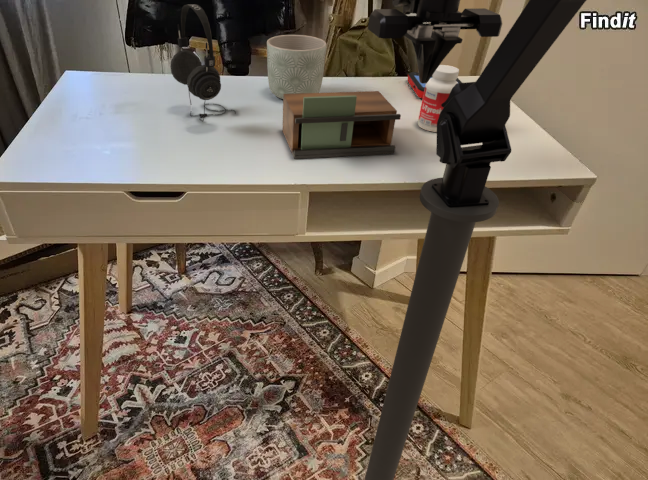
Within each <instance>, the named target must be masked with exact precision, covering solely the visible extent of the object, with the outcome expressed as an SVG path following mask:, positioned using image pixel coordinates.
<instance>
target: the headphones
mask: <svg viewBox="0 0 648 480" xmlns="http://www.w3.org/2000/svg"><path fill="white" fill-rule="evenodd" d="M190 9H191V10H193V12H194V13H195V14H196V15H197V17H198V19H199V20H200V23H201V25H202V27H203V30H204V34H205V37H206V42H205V56H204V58H203V59H204V63H202V61H201V59H200V57H199V56H198V55H197V54H196V53H195V52H193V51H191V50H188V49H183V48H188V47H189V39H188V37H186V20H187V15H188V12H189V10H190ZM177 31H178V38H177V43H178V48H180V51H178V52H176V53H175V54H174V55H173V56H172V58H171V60H170V73H171V75H172V77H173V78H174V80H176V82H178V83H179V84H182V85H184V86H185V85H187V89H188V97H189V98H191V95H190V94H192V95H193V96H194V97H196V98H199V99H200V100H201V101H204V103H203V113H199V114H195V115H192V112H190V113H189V116H190V117H198V116H199V121H201V122H203V121H204V120H205V117H208V116H212V114H207V113H205V112H206V110H209V111H211V112H212V111H213V112H217V109H215V110H214V109H210V108H207V107H206V105H208V103H206V101H209V100H213V99H214V98H216V97H217V96H218V95H219V94H220V92H221V89H222V83H221V76H220V73H219V71H218V69H216V67H215V66H216V56H215V55H214V45H213V44H214V43H213V38H212V37H213V36H212V30H211V26H210V21H209V19H208V15H207V13H206V12H205V10H204V9H203V7H201V6H200V5H199V4H196V3H194V4H193V3H192V4H191V3H190V4H184V5H183V6H182V8H181V11H180V24H179V23H177ZM189 103H190V104H192V99H189ZM215 105H216V106H221V107H222V108H223V109H222V110H221V112H223V113H219V114H216V116H220V115H224V114H225V113H226V112H227V109H226V108H225V107H224V106H223V105H221V104H217V103H214V106H215ZM232 111H233V112H234V115H236V114H237V112H236V111H235V109H232ZM201 118H202V119H201Z"/></svg>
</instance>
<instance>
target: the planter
mask: <svg viewBox="0 0 648 480" xmlns="http://www.w3.org/2000/svg"><path fill="white" fill-rule="evenodd" d="M326 54H327V42H326V40H324V39H322V38H320V37H316V36H311V35H305V34H282V35H275V36H273V37H270V38H268V39H267V41H266V60H267V63H266V64H267V66H266V67H267V68H266V69H267V80H268V81H267V83H268V87H269V90H270V92H271V93H272V94H273V95H274V96H275V97H276V98H278V99H281V100H283V94H298V93H320V91H321V88H322V85H323V79H324V72H325V64H326Z"/></svg>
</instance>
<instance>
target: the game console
mask: <svg viewBox="0 0 648 480" xmlns="http://www.w3.org/2000/svg"><path fill="white" fill-rule="evenodd" d="M432 77H433V76H432ZM432 77H431V78H432ZM456 81H457V82H458V83H463V82H462V81H461V79H459V77H458V78H457V79H456ZM407 82H408V84H409V85H410V87H411V88H412V90H413V91H414V93H415V94H416V96H417V98H419V99H420V100H421V99H423V95H424V90H425V85H426V83H425V84H422V83H421V82H420V80H419V73H418V71H411V72H409V73H407Z"/></svg>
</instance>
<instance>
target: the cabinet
mask: <svg viewBox="0 0 648 480" xmlns="http://www.w3.org/2000/svg"><path fill="white" fill-rule="evenodd" d="M353 95H356V96H357V99H356V107H355V116H331V117H305V118H302V117H303V98H304V97H321V96H353ZM282 104H283V105H282V129H281V130H282V133H283V135H284V138H285V141H286V143H287V145H288V147H289V150H290V152H291V154H292V157H293V159H294V160H301V159H320V158H340V157H360V156H361V157H362V156H381V155H395V151H396V146H395V144H392V141H393V137H394V136H393V135H394V131H395V125H396V120H398V121H399V120H401V117H402V114H400V113H398V110H397V109H396V108H395V107H394V106H393V105H392V104H391V103H390V101H389V100H388V99H387V98H386V97H385V96H384V95H383V94H382V93H381V92H380V91H379V90H369V91H367V90H365V91H363V90H362V91H336V92H335V91H334V92H319V93H298V94H283V99H282ZM350 121H354V124H353V132H352V140H351V147H343V148H323V149H302V150H301V135H302V123H325V122H350Z"/></svg>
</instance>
